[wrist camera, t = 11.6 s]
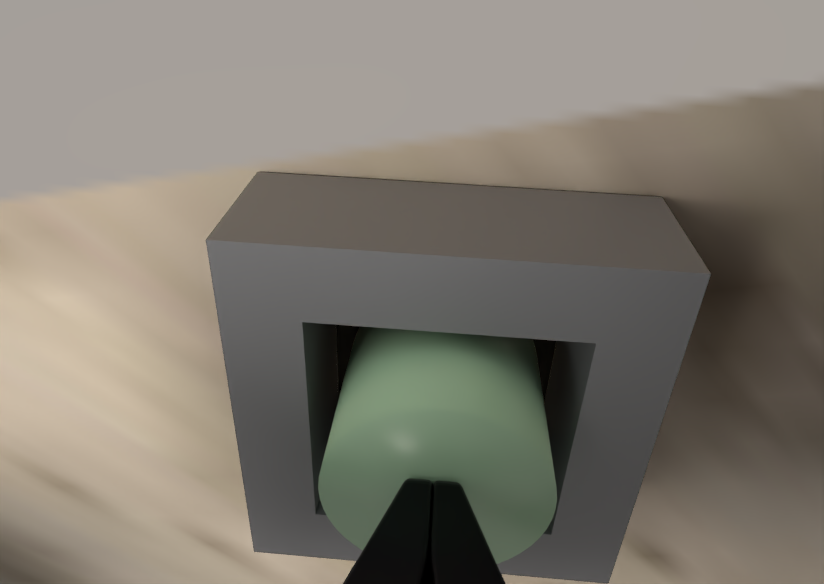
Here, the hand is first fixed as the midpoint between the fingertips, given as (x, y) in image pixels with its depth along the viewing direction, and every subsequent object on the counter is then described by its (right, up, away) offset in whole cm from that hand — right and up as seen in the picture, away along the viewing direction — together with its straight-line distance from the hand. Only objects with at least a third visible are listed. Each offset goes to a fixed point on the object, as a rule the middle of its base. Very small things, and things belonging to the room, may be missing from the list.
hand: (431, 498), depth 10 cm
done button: (0, +2, +3) cm, 3 cm away
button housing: (0, +2, +3) cm, 4 cm away
